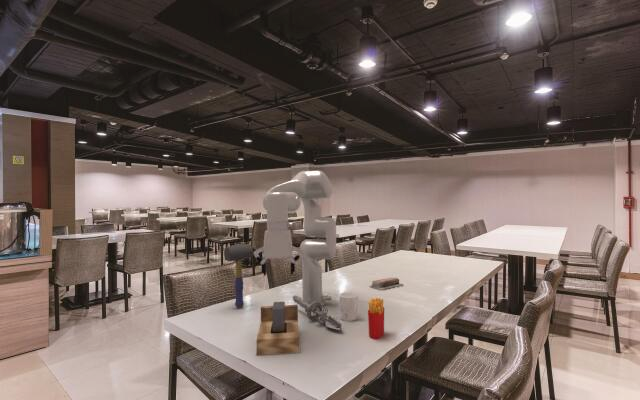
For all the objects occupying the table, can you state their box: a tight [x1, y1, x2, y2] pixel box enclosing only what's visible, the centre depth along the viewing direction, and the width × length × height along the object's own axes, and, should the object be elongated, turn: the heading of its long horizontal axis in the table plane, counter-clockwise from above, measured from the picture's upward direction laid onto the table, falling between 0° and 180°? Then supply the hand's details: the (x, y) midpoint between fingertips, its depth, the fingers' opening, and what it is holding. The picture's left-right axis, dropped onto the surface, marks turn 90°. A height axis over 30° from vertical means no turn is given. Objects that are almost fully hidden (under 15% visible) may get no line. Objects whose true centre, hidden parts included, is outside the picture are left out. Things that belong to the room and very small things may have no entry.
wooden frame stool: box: [256, 304, 301, 356], centre depth 112 cm, size 14×18×10 cm
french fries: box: [367, 297, 385, 340], centre depth 117 cm, size 9×4×13 cm, turn 145°
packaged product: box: [368, 277, 404, 292], centre depth 184 cm, size 18×5×10 cm
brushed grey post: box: [272, 301, 286, 333], centre depth 112 cm, size 4×8×13 cm, turn 5°
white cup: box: [338, 291, 359, 322], centre depth 134 cm, size 8×8×10 cm
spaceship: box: [292, 295, 344, 331], centre depth 132 cm, size 8×35×8 cm
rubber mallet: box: [223, 243, 254, 309], centre depth 150 cm, size 12×8×30 cm, turn 132°
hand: (278, 274), depth 112 cm, fingers open, 9 cm apart
